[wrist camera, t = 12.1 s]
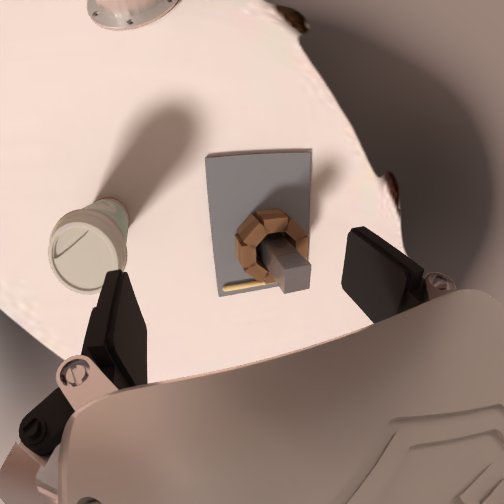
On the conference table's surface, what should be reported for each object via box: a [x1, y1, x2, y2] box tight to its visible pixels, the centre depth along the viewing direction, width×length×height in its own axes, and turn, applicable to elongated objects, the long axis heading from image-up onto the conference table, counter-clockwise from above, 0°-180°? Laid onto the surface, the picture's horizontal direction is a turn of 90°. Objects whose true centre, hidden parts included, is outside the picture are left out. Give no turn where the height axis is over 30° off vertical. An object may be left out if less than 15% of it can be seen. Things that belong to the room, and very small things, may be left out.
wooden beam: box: [256, 232, 311, 294], centre depth 34 cm, size 3×3×11 cm
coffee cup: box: [48, 198, 129, 295], centre depth 26 cm, size 8×8×12 cm
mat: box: [205, 152, 311, 297], centre depth 37 cm, size 20×14×1 cm
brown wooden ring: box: [235, 208, 309, 284], centre depth 37 cm, size 9×9×4 cm
